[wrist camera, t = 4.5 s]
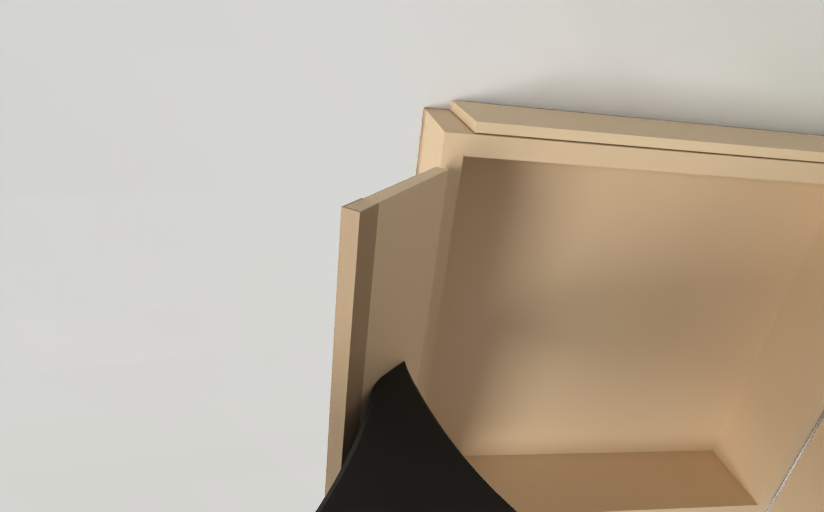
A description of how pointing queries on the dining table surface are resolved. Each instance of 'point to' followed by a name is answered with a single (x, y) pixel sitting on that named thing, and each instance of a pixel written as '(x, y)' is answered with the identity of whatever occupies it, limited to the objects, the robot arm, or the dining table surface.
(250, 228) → the dining table surface
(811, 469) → the flap
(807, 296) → the carton
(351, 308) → the flap
